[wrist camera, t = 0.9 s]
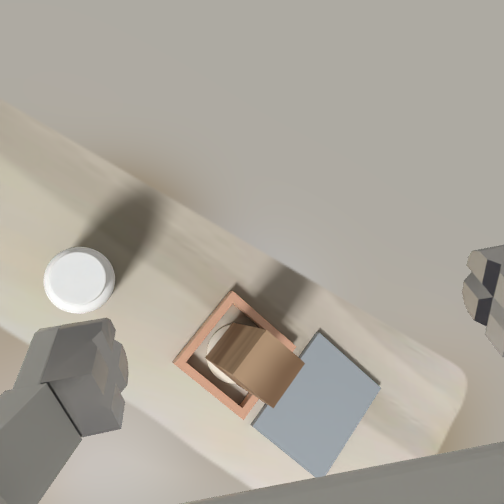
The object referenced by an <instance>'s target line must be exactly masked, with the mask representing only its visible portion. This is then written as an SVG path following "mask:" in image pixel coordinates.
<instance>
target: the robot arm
mask: <svg viewBox="0 0 504 504" xmlns="http://www.w3.org/2000/svg"><path fill="white" fill-rule="evenodd" d="M467 267H468V268H469V269H470V270H471V274H470V275H469V276H468V277H467V278H466V279H465V280H464V283H463V291H462V293H463V299H464V304H465V306H466V309H467V310H468V313H469V314H470V315H471V317H472V318H473V320H475V321H476V322H479V323H481V324H483V325H485V326H486V332H485V335H486V337H487V338H488V339H489V341H490V342H491V343H492V345H493V346H494V347H495V348H496V350H497V351H498V352H499V354H500V355H501V356H502V357H504V245H500V246H495V247H490V248H484V249H479V250H474V251H472V252H471V253H470V255H469V257H468V261H467ZM115 331H116V330H115V328H114V326H113V324H112V322H111V320H110V319H108V318H102V319H96V320H90V321H84V322H77V323H71V324H65V325H62V326H55V327H49V328H43V329H39V330H38V331H37V332H36V333H35V334H34V336H33V339H32V341H31V344H30V346H29V349H28V351H27V354H26V356H25V359H24V361H23V364H22V366H21V369H20V372H19V374H18V377H17V379H16V382H15V384H14V387H13V389H12V390H7V391H4V392H3V394H1V395H0V504H38V503H39V501H40V500H41V498H42V497H43V495H44V494H45V492H46V491H47V490H48V488H49V487H50V485H51V484H52V482H53V481H54V479H55V478H56V477H57V475H58V474H59V472H60V471H61V469H62V468H63V466H64V465H65V464H66V462H67V461H68V459H69V458H70V456H71V455H72V453H73V452H74V450H75V449H76V448H77V446H78V445H79V443H80V442H81V440H82V438H81V437H85V436H90V435H95V434H99V433H104V432H109V431H113V430H118V429H121V425H122V419H123V412H124V405H125V401H124V399H123V397H122V395H121V392H122V391H123V390H124V388H125V387H126V386H127V383H128V361H127V357H126V353H125V350H124V348H123V346H122V344H121V343H119V342H117V341H116V340H114V337H115ZM181 504H504V442H499V443H494V444H489V445H483V446H478V447H473V448H468V449H463V450H458V451H452V452H447V453H442V454H437V455H431V456H426V457H421V458H416V459H411V460H405V461H400V462H395V463H390V464H385V465H379V466H374V467H369V468H364V469H359V470H353V471H348V472H343V473H338V474H332V475H327V476H322V477H317V478H312V479H306V480H301V481H296V482H291V483H285V484H280V485H275V486H270V487H265V488H259V489H254V490H249V491H244V492H239V493H233V494H228V495H223V496H218V497H213V498H207V499H202V500H197V501H191V502H186V503H181Z"/></svg>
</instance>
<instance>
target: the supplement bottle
mask: <svg viewBox="0 0 504 504" xmlns="http://www.w3.org/2000/svg"><path fill="white" fill-rule="evenodd" d="M114 286H115V273H114V269H113V267H112V265H111V263H110V261H109V260H108V259H107V258H106V257H105V256H104V255H103V254H102V253H100V252H98V251H97V250H94V249H92V248H88V247H73V248H69V249H66V250H64V251H62V252H60V253H58V254H57V255H56V256H55V257H54V258H53V259H52V260H51V261H50V262H49V264H48V265H47V267H46V270H45V273H44V288H45V292H46V294H47V296H48V298H49V299H50V301H51V302H52V303H53V304H54V305H55V306H57V307H58V308H60V309H61V310H63V311H66V312H69V313H76V314H82V313H88V312H92V311H94V310H96V309H98V308H100V307H101V306H103V305H104V304H105V303H106V302H107V301H108V299H109V298H110V296H111V294H112V292H113V290H114Z"/></svg>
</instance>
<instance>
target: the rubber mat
mask: <svg viewBox="0 0 504 504" xmlns="http://www.w3.org/2000/svg"><path fill="white" fill-rule="evenodd" d="M299 358H300V359H301V360H302V361H303V362H304V363H305V364H304V366H303V367H302V369H301V370H300V371H299V373H298V374H297V376H296V377H295V379H294V380H293V381H292V383H291V384H290V386H289V387H288V388H287V390H286V391H285V393H284V394H283V396H282V397H281V398H280V400H279V401H278V403H277V404H276V405H275V407H274V408H272V407H270V406H269V405H267V404H265V405H264V407H263V408H262V410H261V411H260V412H259V414H258V415H257V417H256V418H255V419H254V421H253V422H252V424H251V425H252V426H253V427H254V428H255V429H256V430H258V431H259V432H260V433H261V434H263V435H264V436H265V437H266V438H268V439H269V440H270V441H271V442H272V443H274V444H275V445H276V446H277V447H279V448H280V449H281V450H282V451H284V452H285V453H286V454H287V455H289V456H290V457H291V458H292V459H293V460H295V461H296V462H297V463H298V464H300V465H301V466H302V467H303V468H305V469H306V470H307V471H308V472H310V473H311V474H312V475H313V476H315V477H316V478H317V477H322V476H326V474H327V472H328V471H329V469H330V468H331V466H332V464H333V463H334V461H335V460H336V458H337V457H338V455H339V453H340V452H341V450H342V449H343V447H344V446H345V444H346V442H347V441H348V439H349V438H350V436H351V435H352V433H353V431H354V430H355V428H356V427H357V425H358V424H359V422H360V420H361V419H362V417H363V416H364V414H365V413H366V411H367V409H368V408H369V406H370V405H371V403H372V401H373V400H374V398H375V397H376V395H377V394H378V392H379V390H380V389H381V387H379V386H378V385H377V384H376V383H375V382H374V381H373V380H372V379H371V378H369V377H368V376H367V375H366V374H365V373H364V372H363V371H362V370H361V369H359V368H358V367H357V366H356V365H355V364H354V363H353V362H352V361H350V360H349V359H348V358H347V357H346V356H345V355H344V354H343V353H342V352H340V351H339V350H338V349H337V348H336V347H335V346H334V345H333V344H331V343H330V342H329V341H328V340H327V339H326V338H325V337H324V336H323V335H321V334H320V333H319V332H316V334H315V335H314V337H313V338H312V339H311V341H310V342H309V344H308V345H307V346H306V348H305V349H304V351H303V352H302V353H301V355H300V356H299Z"/></svg>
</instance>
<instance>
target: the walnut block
mask: <svg viewBox="0 0 504 504" xmlns="http://www.w3.org/2000/svg"><path fill="white" fill-rule="evenodd" d="M205 358H206V359H207V360H208V361H210V362H211V363H212V364H213V365H214V366H216V367H217V368H218V369H219V370H220V371H222V372H223V373H224V374H225V375H227V376H228V377H229V378H230V379H231V380H233V381H234V382H235V383H236V384H237V385H239V386H240V387H242V388H243V389H245V390H246V391H248V392H249V393H251V394H252V395H254V396H255V397H257V398H258V399H260V400H261V401H263V402H264V403H266V404H267V405H269V406H270V407H272V408H274V407H275V405H276V404H277V403H278V401H279V400H280V398H281V397H282V396H283V394H284V393H285V391H286V390H287V388H288V387H289V386H290V384H291V383H292V381H293V380H294V379H295V377H296V376H297V374H298V373H299V371H300V370H301V369H302V367H303V366H304V364H305V363H304V362H303V361H302V360H301V359H300V358H299V357H297V356H296V355H295V354H294V353H293V352H292V351H290V350H289V349H288V348H287V347H286V346H285V345H284V344H282V343H281V342H280V341H279V340H278V339H277V338H276V337H274V336H273V335H272V334H271V333H270V332H269V331H267V330H266V329H261V328H256V327H252V326H247V325H242V324H238V323H232V324H231V325H230V327H229V328H228V329H227V330H226V332H225V333H224V334H223V336H222V337H221V338H220V339H219V341H218V342H217V343H216V345H215V346H214V347H213V348H212V350H211V351H210V352H209V353H208V355H207V356H206V357H205Z"/></svg>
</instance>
